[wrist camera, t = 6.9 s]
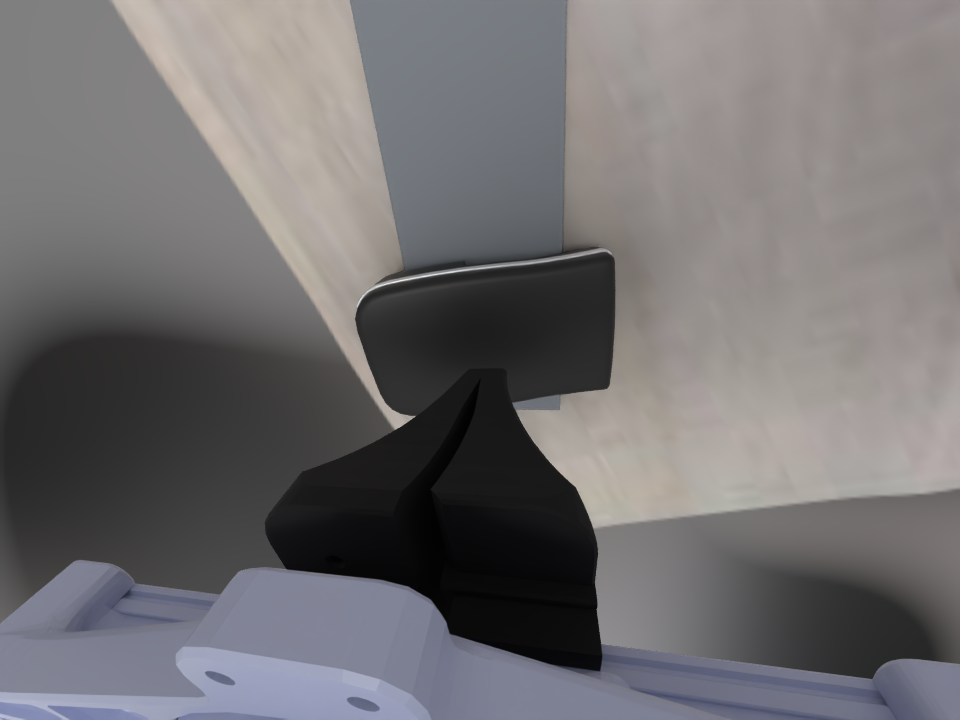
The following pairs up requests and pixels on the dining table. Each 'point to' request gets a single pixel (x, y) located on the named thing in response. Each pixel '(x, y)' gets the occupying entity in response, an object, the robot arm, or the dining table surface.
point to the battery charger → (492, 327)
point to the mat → (469, 127)
